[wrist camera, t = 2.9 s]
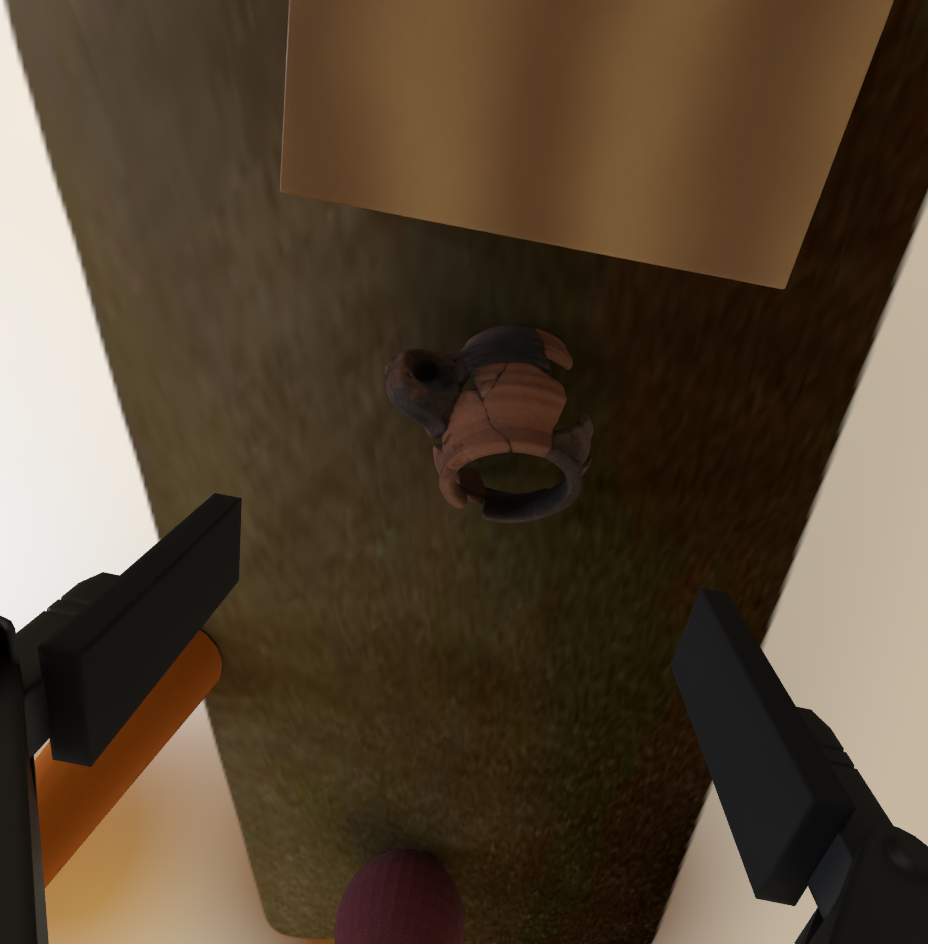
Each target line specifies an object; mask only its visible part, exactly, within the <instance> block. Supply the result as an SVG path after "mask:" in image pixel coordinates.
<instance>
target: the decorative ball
mask: <svg viewBox="0 0 928 944" xmlns="http://www.w3.org/2000/svg"><path fill="white" fill-rule="evenodd" d="M464 933H465V917H464V911H463V906H462V901H461V897H460V894H459V892H458V890H457V887H456V885H455V883H454V881H453V879H452V878H451V876H450V875H449V873H448V872H447V871H446V870H445V868H444V867H443V866H442V865H441V864H440V863H439V862H438V861H436V860H435V859H433V858H432V857H430V856H428V855H427V854H425V853H422V852H419V851H416V850H410V849H399V850H393V851H389V852H386V853H383V854H381V855H379V856H377V857H375V858H374V859H372V860H371V861H369V862H368V863H367V864H365V865H364V866H363V867H362V868H361V869H360V870H359V871H358V873H357V874H356V875H355V876H354V877H353V879H352V880H351V882H350V883H349V885H348V887H347V889H346V890H345V892H344V895H343V897H342V900H341V903H340V906H339V909H338V912H337V917H336V923H335V944H463V940H464Z"/></svg>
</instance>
